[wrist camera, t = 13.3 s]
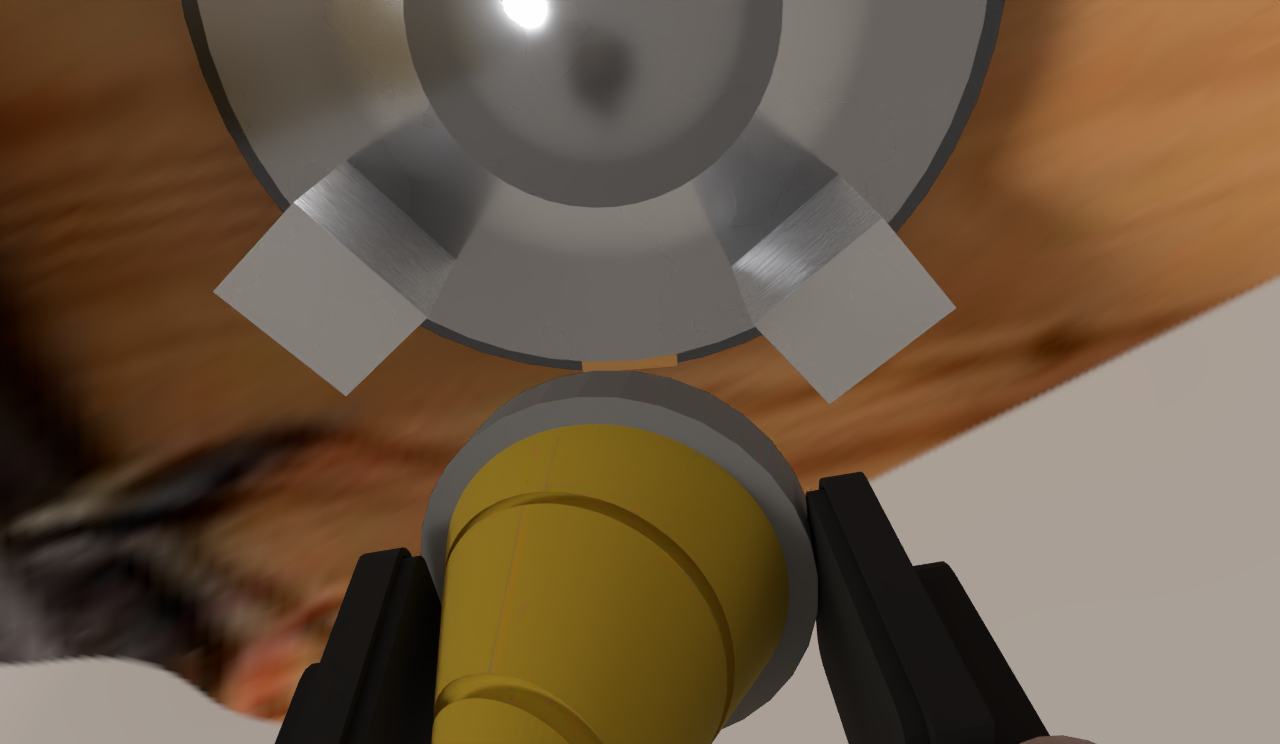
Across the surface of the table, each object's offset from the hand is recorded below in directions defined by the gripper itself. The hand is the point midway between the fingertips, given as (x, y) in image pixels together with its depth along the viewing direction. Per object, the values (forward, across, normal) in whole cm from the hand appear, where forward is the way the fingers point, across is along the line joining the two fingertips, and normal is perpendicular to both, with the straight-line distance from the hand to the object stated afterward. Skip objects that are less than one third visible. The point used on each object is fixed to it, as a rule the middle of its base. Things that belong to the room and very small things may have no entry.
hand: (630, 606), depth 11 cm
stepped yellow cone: (+4, -1, 0) cm, 4 cm away
